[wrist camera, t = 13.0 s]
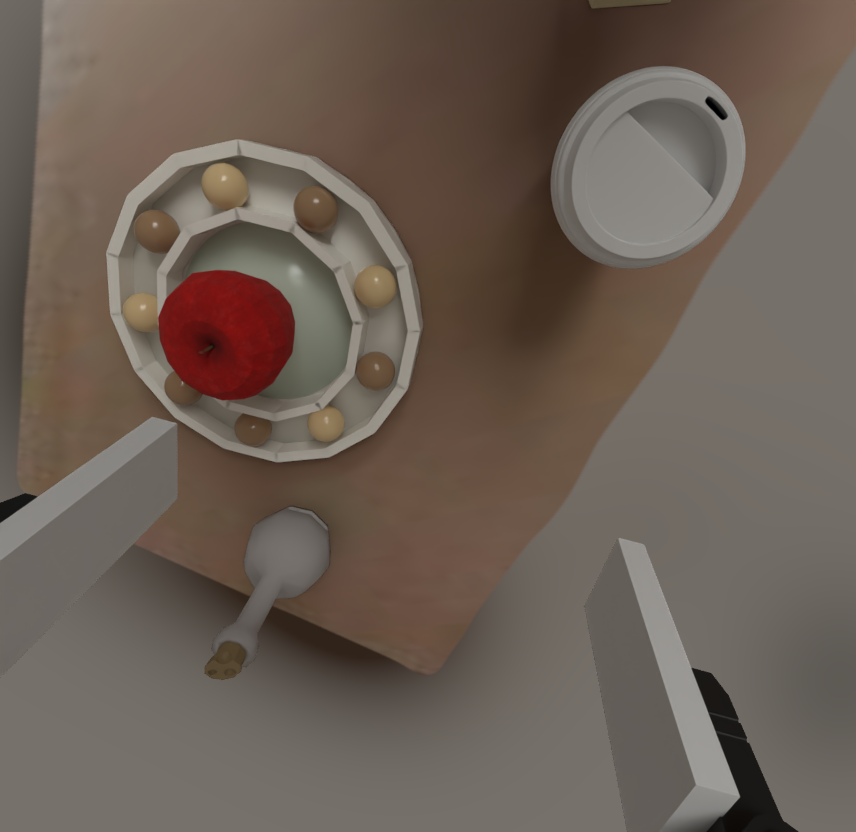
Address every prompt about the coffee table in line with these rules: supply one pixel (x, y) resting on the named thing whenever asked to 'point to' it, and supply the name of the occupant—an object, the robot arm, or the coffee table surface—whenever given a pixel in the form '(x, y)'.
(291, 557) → the potion bottle
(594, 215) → the coffee cup
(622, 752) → the robot arm
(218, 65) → the coffee table surface
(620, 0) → the figurine
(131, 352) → the bead tray
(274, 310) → the apple
